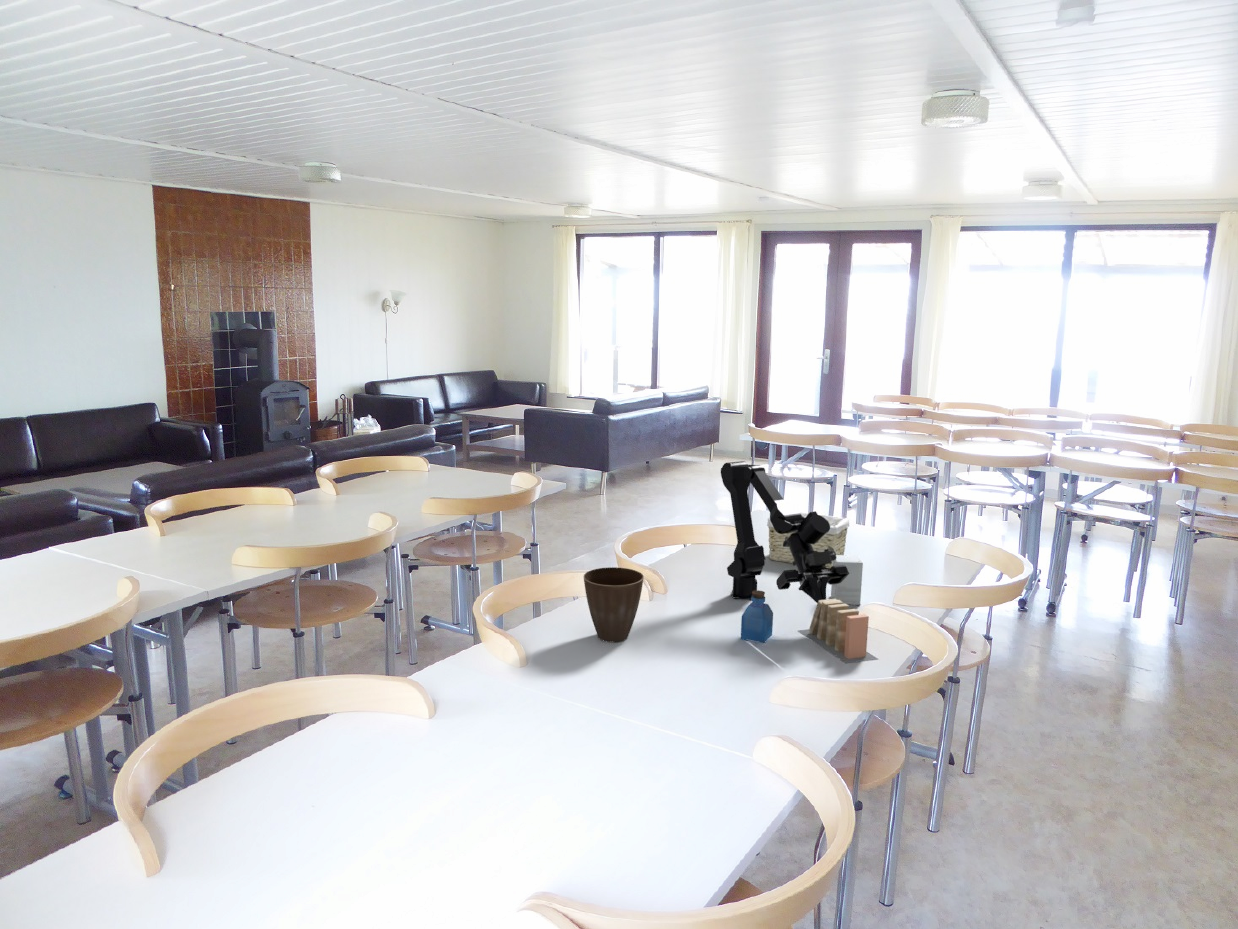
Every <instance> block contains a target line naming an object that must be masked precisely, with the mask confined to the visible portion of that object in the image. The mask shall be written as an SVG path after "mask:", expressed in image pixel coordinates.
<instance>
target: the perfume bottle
mask: <svg viewBox="0 0 1238 929" xmlns="http://www.w3.org/2000/svg"><path fill="white" fill-rule="evenodd" d="M752 594H753V596H751V599H750V600H751V602H750V604H748V605H747V607H746V608H745V610H744V611H743V613H742V615H741V620H740V621H741V624H740V640H742V641H746V642H748V641H752V642H757V643H762V644H765V643H766V642H767V641H768V640H769V639H770V638H771V637H772V636H773V625H774V623H773V621H774V612H773V610H772V608H771V607H770V605H769V604H768V603H765V602H766V596H765V594H766V592H765V591H763V590H758V589H757V590H755V591H752Z"/></svg>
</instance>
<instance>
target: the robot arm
mask: <svg viewBox="0 0 1238 929" xmlns="http://www.w3.org/2000/svg"><path fill="white" fill-rule="evenodd" d="M720 477H721V482H722V484H723V486H724V487H725V489H726V490H727V491H728V493H729V495H730V500H731V506H732V507H731V508H732V515H733V520H734V526H735V527H734V528H735V535H736V540H737V544H736V547H735V548H734V551H733V561H732V562H731V563H730V564H729V565H728V566H727V567H726V570H727V571H726V572H727V575H728V576H730V577H732V590H731V595H732V597H731V598H733V599H743V600H751V596H753V594H752V591H755V590H758V580H757V579H756V576H761V575H762V572H763V569H764V567H765V563H766V562H765V560H767V559H766V556H765V550H764V549H765V548H764V546H763V545H760V544H759V543H757V541H756V539H755V534H754V533H755V532H754V525H753V520H752V514H751V505H750V499H749V493H748V492H749V491H748V490H749V488H750V485H752V487H753V488H754V490H755V491H756V493H757V495H758V496H759V498H760V499H761V500H762V502H763V503H764V504H765V506H766V508H767V510H768V512H769V517H770V521H771V523H772V525H773V527H774V529H775V531H776V532H777V533H779V534H786V533H792V534H791V535H790V536H789V537H785V541H784V542H783V547H789V548H790V551H791V553H792V556H793V559H794V561H793V562H792V563H791V565H792V566H793V567H796V568H797V569H787V570H786V569H785V570H783V571H782V572H781V573H780V574H779V575H778V578H777V579H776V587H777V589H778V590H779V591H781V590H788V589H790V587H791V583H798V584H799V585H800V586H799V587H798V591H801V592H803V593H804V594H806V595H807V596H808V597H809V598H811V599H812V600H813V601H814V602H815V603H816V604H817V603H818V600H827V586H828V585H830V586H831V585H832V584H839V583H841V582H842V581H843V580H844V579H845V578H846V577H847V576H848V575H849V571H848V568H847V567H846V566H844V565H838V566H832V567H831V568H828V570H827V571H823V570H824V569H827V568H826V564H832V561H833V560H836V553H835V551H834V549H833V548H827V549H825V550H824V552H818V551H814V549H813V547H812V544H815V543H817V542H818V541H819V540H820V539H821V538H822V537H823V536H824V535H825V534H826V533H827V532H828V531H829V530H830V524H829V522H828V521H827V520H826V519H825V518H824V517H822V516H820V515H821V514H819V513H818V512H817V511H810V512H808V513H809V514H808V515H807V517H806V518H805V517H803V516H802V515H801V514H800V513H799V512H800V511H799V510H798V509H797V508H796V507H795V506H793V505H792V504H791V503H788V502H787V501H786V500H785V499H784V497H783V496H782V495H781V493H780V492H779V490H778V489H777V488H776V486H775V485H774V483H773V482H772V480H771V479H770V477H769V476H768V474H767V473H766V469H765V467H764V466H763V465H760V464H749V463H747V461H745V460H744V461H743V460H742V461H741V460H740V461H739V460H738V461H728V462H725V463H724V464H723V465H722V467H721V468H720ZM793 532H794V533H793ZM827 584H828V585H827Z"/></svg>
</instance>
